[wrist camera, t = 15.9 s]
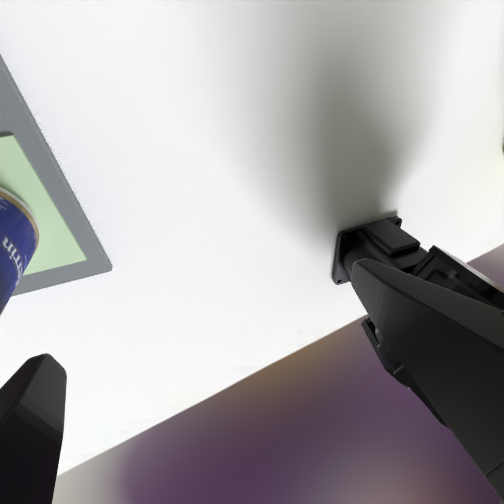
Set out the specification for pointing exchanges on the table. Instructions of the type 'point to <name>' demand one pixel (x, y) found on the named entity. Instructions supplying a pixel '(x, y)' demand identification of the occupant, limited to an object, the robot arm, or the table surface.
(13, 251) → the pill bottle
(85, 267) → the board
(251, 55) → the table surface
